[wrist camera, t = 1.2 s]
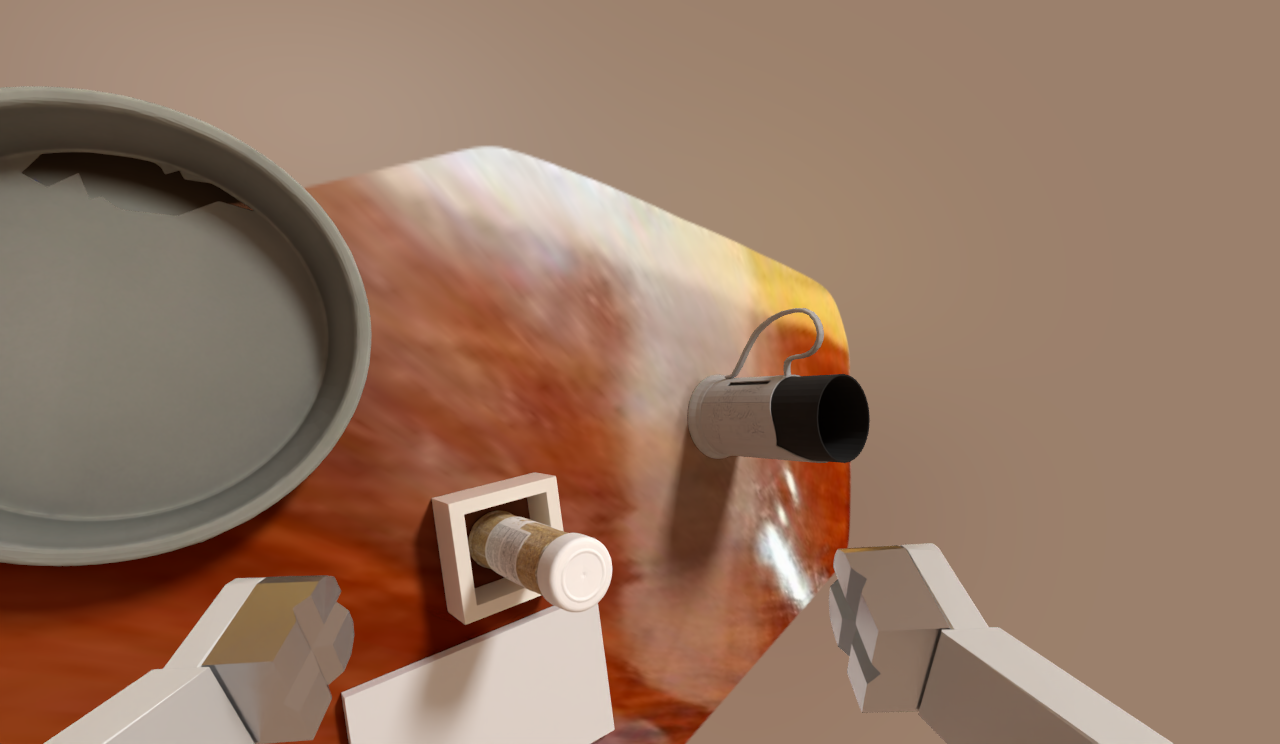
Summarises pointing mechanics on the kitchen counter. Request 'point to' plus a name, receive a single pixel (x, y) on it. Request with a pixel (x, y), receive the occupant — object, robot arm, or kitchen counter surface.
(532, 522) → the sprinkles bottle
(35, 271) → the cake pan
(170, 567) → the kitchen counter surface
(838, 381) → the grey ceramic mug
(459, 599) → the stand
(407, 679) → the white board
